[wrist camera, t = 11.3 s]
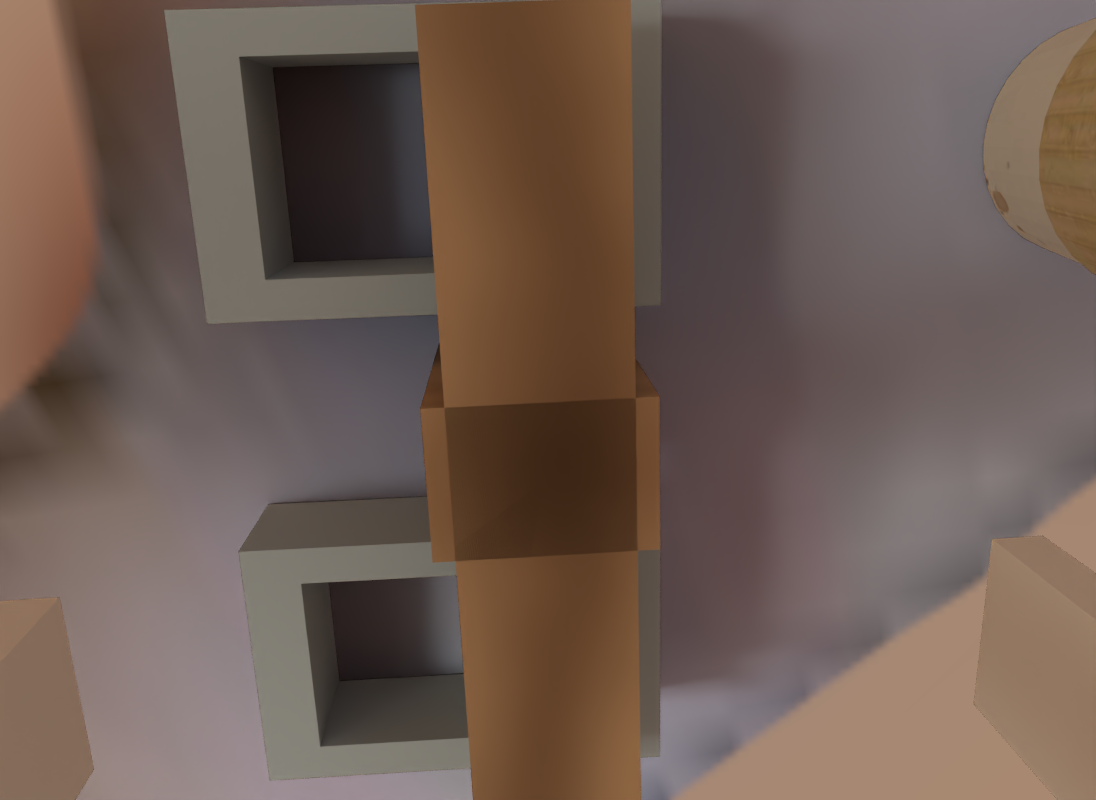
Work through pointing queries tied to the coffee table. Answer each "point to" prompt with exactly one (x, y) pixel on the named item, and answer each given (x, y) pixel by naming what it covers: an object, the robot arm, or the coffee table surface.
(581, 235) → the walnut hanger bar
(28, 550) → the coffee table surface
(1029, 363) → the coffee table surface
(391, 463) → the coffee table surface
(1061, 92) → the coffee cup
